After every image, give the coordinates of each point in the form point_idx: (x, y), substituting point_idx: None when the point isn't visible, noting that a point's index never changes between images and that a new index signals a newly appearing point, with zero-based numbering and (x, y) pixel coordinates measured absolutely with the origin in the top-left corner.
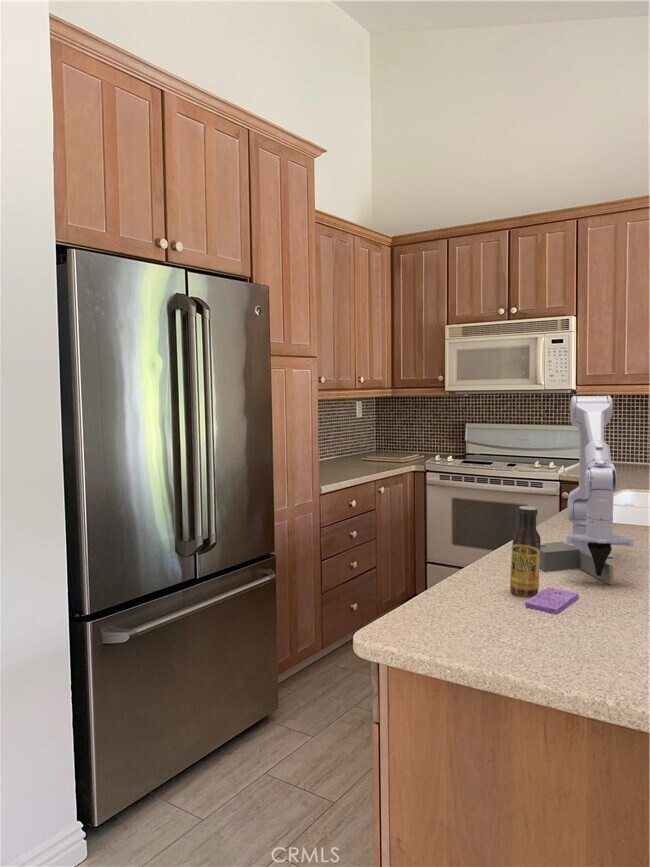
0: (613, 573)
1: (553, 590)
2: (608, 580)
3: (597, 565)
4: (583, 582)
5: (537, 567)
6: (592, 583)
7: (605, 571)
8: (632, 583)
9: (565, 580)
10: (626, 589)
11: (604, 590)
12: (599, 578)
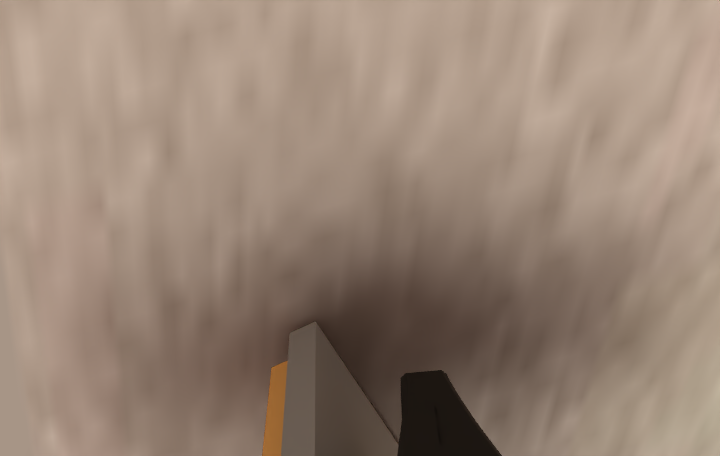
0: (272, 423)
1: None
2: (324, 355)
3: (477, 451)
4: (538, 336)
5: None
6: (462, 331)
7: (354, 452)
8: (114, 417)
9: (684, 347)
10: (157, 246)
11: (377, 156)
12: (390, 434)
